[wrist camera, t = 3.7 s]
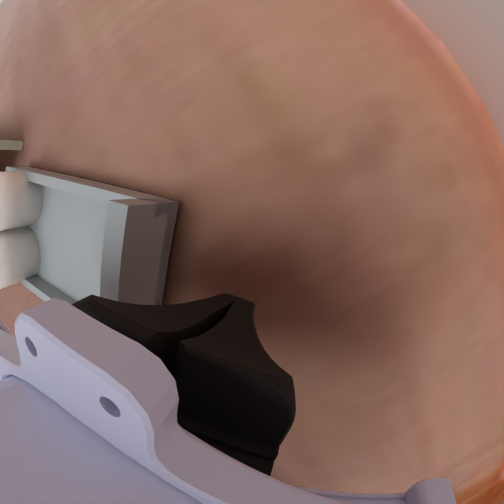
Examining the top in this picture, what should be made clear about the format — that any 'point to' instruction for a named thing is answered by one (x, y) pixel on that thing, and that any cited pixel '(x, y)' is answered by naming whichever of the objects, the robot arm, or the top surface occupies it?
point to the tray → (83, 237)
